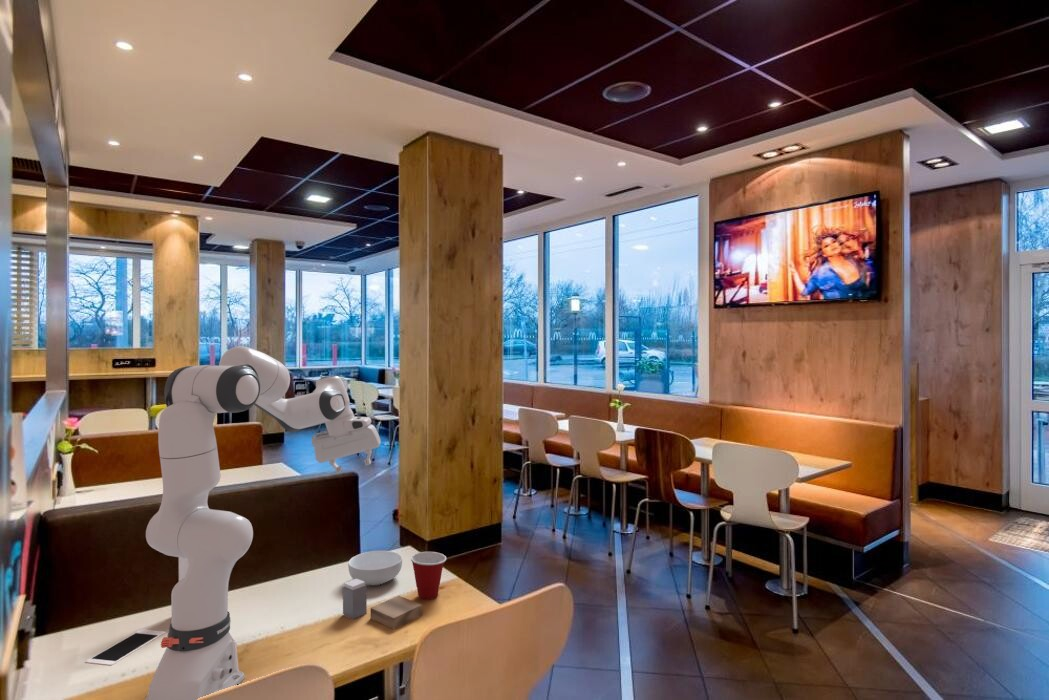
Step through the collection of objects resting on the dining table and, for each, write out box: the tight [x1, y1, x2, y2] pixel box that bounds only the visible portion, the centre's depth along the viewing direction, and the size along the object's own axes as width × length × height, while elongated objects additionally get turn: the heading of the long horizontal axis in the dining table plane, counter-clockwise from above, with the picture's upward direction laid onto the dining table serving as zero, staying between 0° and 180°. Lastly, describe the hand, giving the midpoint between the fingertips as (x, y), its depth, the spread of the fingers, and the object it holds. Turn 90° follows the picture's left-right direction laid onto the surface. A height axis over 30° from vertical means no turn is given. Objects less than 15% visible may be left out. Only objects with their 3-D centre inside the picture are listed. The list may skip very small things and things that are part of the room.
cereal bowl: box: [348, 550, 403, 586], centre depth 183 cm, size 17×17×7 cm
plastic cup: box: [410, 551, 447, 601], centre depth 172 cm, size 11×11×12 cm
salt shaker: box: [342, 579, 368, 620], centre depth 160 cm, size 5×5×9 cm
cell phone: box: [84, 629, 166, 666], centre depth 143 cm, size 8×16×1 cm, turn 170°
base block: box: [369, 595, 423, 630], centre depth 158 cm, size 10×10×3 cm
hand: (354, 468), depth 178 cm, fingers open, 8 cm apart
